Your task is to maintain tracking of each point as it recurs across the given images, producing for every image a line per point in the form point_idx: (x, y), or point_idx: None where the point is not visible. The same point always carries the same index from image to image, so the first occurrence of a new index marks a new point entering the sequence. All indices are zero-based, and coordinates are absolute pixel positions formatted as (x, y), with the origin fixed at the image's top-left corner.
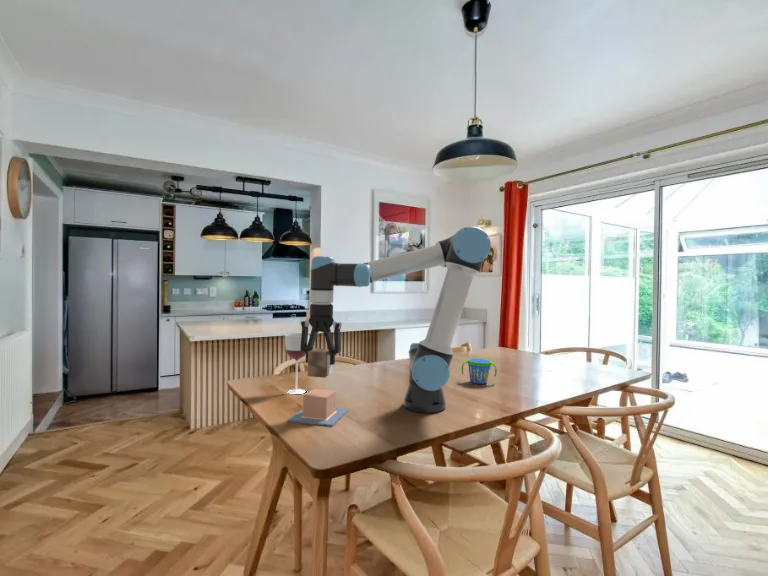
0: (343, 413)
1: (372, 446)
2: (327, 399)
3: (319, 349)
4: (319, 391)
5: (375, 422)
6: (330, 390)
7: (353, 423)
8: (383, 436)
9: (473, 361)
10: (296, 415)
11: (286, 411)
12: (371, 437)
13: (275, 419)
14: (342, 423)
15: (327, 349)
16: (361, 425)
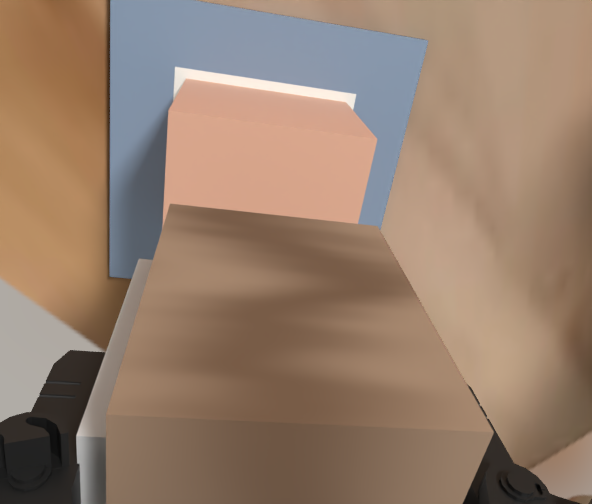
0: (402, 130)
1: (531, 425)
2: None
3: (227, 470)
4: (244, 180)
5: (576, 204)
6: (330, 136)
7: (461, 237)
8: (585, 347)
9: None
10: (127, 212)
11: (9, 115)
12: (535, 363)
13: (28, 256)
14: (405, 246)
15: (391, 430)
16: (501, 254)
